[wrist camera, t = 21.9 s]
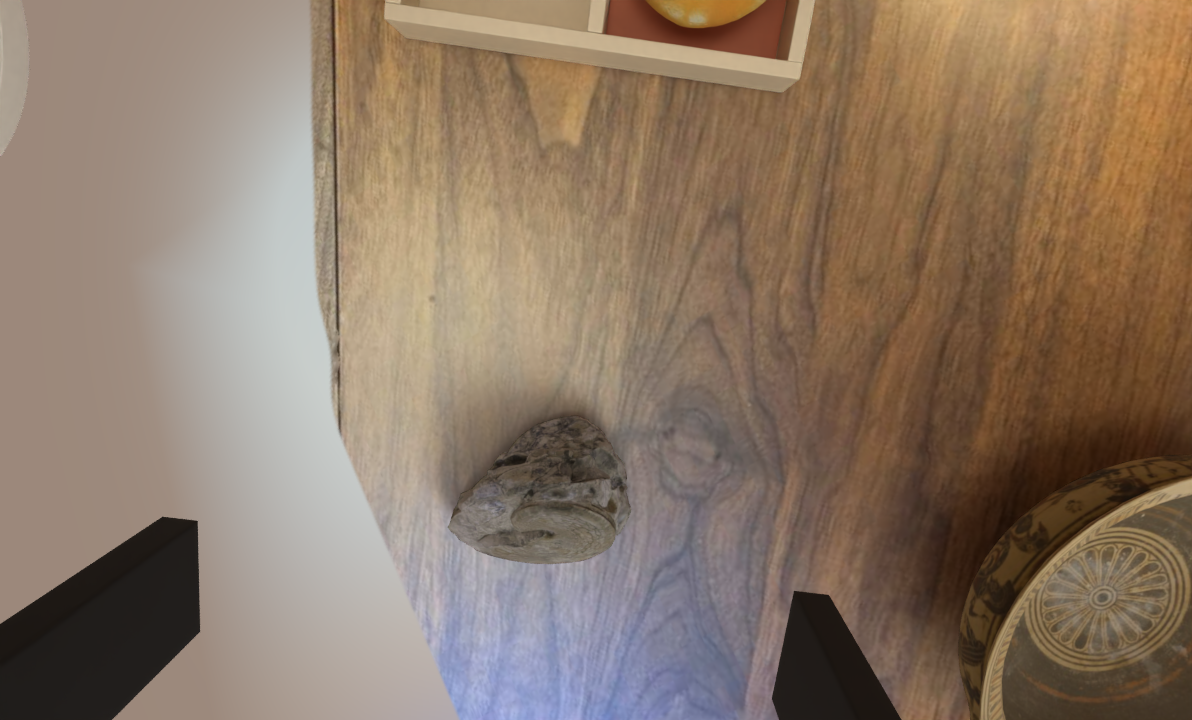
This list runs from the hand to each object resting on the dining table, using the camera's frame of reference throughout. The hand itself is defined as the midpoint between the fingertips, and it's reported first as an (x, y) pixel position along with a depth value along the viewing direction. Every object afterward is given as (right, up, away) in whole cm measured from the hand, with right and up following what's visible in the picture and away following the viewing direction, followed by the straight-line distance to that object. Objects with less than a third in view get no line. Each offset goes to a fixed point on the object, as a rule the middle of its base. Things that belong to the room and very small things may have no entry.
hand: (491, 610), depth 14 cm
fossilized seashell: (-1, -3, +27) cm, 28 cm away
